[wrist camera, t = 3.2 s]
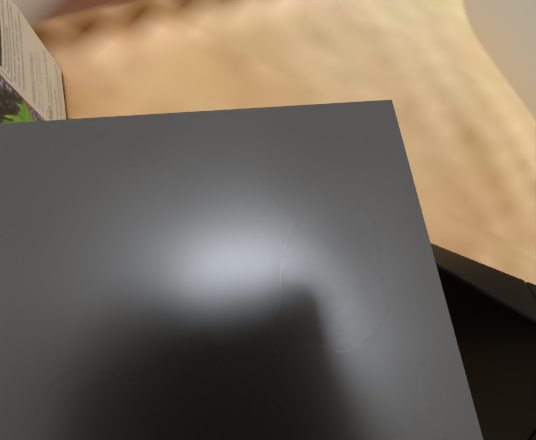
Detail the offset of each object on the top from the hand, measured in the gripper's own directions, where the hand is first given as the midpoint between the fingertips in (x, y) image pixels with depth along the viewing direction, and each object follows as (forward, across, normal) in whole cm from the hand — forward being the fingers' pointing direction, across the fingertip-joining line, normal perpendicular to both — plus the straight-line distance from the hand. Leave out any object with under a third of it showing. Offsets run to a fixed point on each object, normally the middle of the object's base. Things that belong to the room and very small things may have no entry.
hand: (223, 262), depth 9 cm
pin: (+4, 0, +6) cm, 7 cm away
